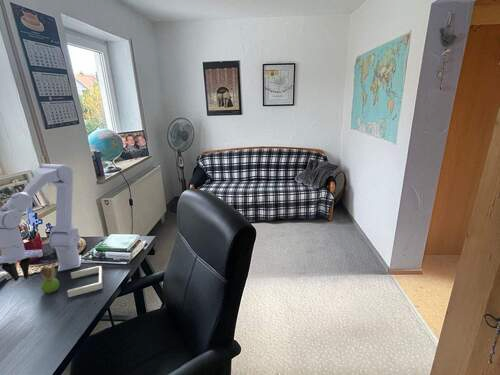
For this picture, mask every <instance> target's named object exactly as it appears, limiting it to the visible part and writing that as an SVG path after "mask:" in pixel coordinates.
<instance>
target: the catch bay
mask: <svg viewBox="0 0 500 375" xmlns="http://www.w3.org/2000/svg"><path fill="white" fill-rule="evenodd" d="M97 273H98V282H95V283H92V284H91V283H90V284H88V285H84V286H79V287H75V288H72V289H68V290H67V291H66V292H67V296H68V297H67V298H72V297H75V296H78V295H83V294H87V293H90V292H94V291H98V290H102V289H103V268H102V265H98V266H97V265H96V266H92V267H87V268H83V269H80V270H75V271H71V272H70V277H71V279H72V280H73V279H77V278H80V277H81V278H82V277H84V276H89V275H93V274H97Z"/></svg>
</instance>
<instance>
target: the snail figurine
mask: <svg viewBox="0 0 500 375" xmlns="http://www.w3.org/2000/svg"><path fill="white" fill-rule="evenodd" d="M50 267H51V268H49V266H43V267H41V269H40V274H41V275H42V276H41V277H42V279H44V280H43V281H42V282H41V285H40V288H41V291H42V292H43V293H45V294H52V293H54V292H56V291H57V290H58V289H59V287H60V281H59V280H58V278H56V277H55V276H56V267H55V264H51V265H50Z"/></svg>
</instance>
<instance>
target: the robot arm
mask: <svg viewBox="0 0 500 375" xmlns="http://www.w3.org/2000/svg"><path fill="white" fill-rule="evenodd" d="M73 172H74V170H73V169H72V168H71V167H70V166H69V165H68V164H53V163H52V164H51V163H42V164H40V165H39V166H38V168H36V169H35V175H34V176H33V177H32V179H31V180H30V181H29V182H28V183H27V185H26V186H25V188H24V189H23V190H22V191H21V192H15V193H12V194H11V196H10V198H9V199H8V200H7V201H6V202H5V203H4V204H3V205H2V206H1V207H0V250H1V254H2V255H0V265H1V270H2V271H4V272H6V273H7V274H9V275H10V276H11V277H12V279H13V280H14V281H15V282H18V280H19V279H20V274H19V271H18V270H17V265H16V263H17V262H19V261H20V262H19V263H18V265H19V267H20V269H21V271H22V274H23V278H24V280H26V279H27V280H28V278H29V267H30V262H31V259H32V258H37V257H38V258H40V257H43V255H44V253H43V249H42V248H41V249H29V250H28V249H27V250H26V248H25V245H24V241H23V239H22V235H21V232H20V228H19V225H20V224H21V222H22V219H23V218H22V217H23V216H24V213H25V212H26V211H27V210H28V209H29V208H30V206H31V205H32V204H33V203H34V202H33V201H34V200H33V198H34V196H35V195H36V194H37V193H39V191H40V190H41V189H43V188H44V187H45V186H46V185H47V184H52V185H53V186H54V187H55V188H56V212H55V215H56V217H55V225H54V226H53V227H51V229H50V234H49V237H48V244H49V245H50V247H51V246H52V247H53V249H55V251H56V256H57V260H58V268H57V272H63V271H67V270H72V269H76V268H80V267H81V263H82V255H81V254H79V251H78V245H79V242H80V234H79V229H78V227H77V226H75V225H74V224H73V177H74V176H73V175H74V174H73Z"/></svg>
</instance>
